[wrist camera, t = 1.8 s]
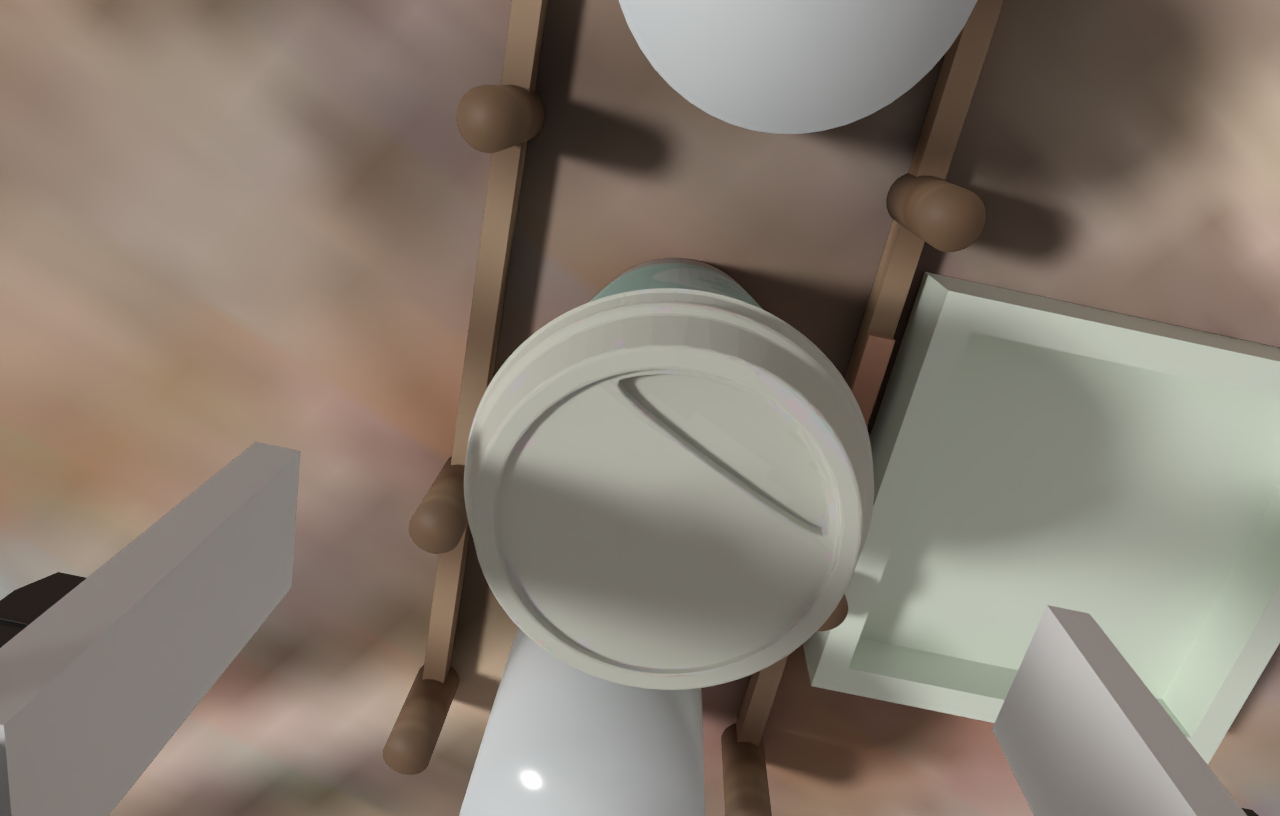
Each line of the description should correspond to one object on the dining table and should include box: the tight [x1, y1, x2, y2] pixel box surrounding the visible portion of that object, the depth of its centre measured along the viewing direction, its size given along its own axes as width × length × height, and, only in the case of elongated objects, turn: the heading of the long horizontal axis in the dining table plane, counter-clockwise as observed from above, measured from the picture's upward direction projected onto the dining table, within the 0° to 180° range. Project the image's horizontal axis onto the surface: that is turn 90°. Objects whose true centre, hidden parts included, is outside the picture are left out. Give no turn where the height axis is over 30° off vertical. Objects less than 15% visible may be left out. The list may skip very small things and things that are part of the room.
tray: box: [803, 272, 1280, 765], centre depth 27 cm, size 14×14×2 cm
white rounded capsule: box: [459, 627, 705, 816], centre depth 26 cm, size 6×6×10 cm
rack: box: [383, 0, 1004, 816], centre depth 25 cm, size 32×14×4 cm, turn 168°
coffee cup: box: [464, 258, 874, 690], centre depth 21 cm, size 8×9×12 cm
